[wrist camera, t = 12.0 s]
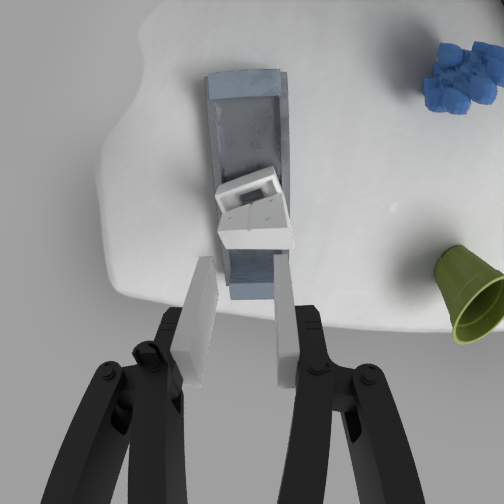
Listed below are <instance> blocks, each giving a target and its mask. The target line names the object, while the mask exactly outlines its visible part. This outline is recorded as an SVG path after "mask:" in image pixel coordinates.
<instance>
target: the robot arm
mask: <svg viewBox="0 0 504 504" xmlns="http://www.w3.org/2000/svg"><path fill="white" fill-rule="evenodd" d="M501 1H502V3H503V5H504V0H501ZM218 295H219V293H218V287H217V280H216V274H215V267H214V261H213V256H206V257H199V260H198V263H197V266H196V269H195V272H194V275H193V278H192V281H191V284H190V287H189V290H188V293H187V296H186V299H185V302H184V305H183V307H170V308H169V309H168V310H167V311H166V312H165V313H164V314H163V317H162V320H161V324H160V325H159V328H158V331H157V334H156V336H155V339H154V341H144V342H142V343H140V344H138V345H137V346H136V347H135V348H134V350H133V352H132V355H133V356H134V358H135V360H136V362H137V364H136V365H132V366H126V367H121V366H120V365H119V364H118V363H117V362H114V361H108V362H105V363H103V364H101V365H100V366H99V367H98V369H97V370H96V372H95V374H94V376H93V378H92V380H91V382H90V384H89V386H88V388H87V390H86V392H85V394H84V396H83V398H82V400H81V402H80V404H79V407H78V409H77V411H76V413H75V415H74V417H73V420H72V422H71V424H70V427H69V429H68V431H67V434H66V436H65V439H64V441H63V443H62V445H61V448H60V450H59V453H58V456H57V458H56V461H55V463H54V466H53V468H52V471H51V474H50V477H49V479H48V482H47V485H46V488H45V491H44V494H43V497H42V500H41V504H110V502H111V499H112V495H113V492H114V489H115V486H116V482H117V479H118V476H119V473H120V469H121V466H122V463H123V460H124V457H125V454H126V451H127V448H128V445H129V442H130V448H129V466H128V468H129V469H128V504H188V503H187V490H186V475H185V454H184V395H183V391H182V389H181V388H182V384H183V381H184V383H185V385H186V386H187V387H201V388H202V385H203V379H204V373H205V367H206V361H207V356H208V350H209V344H210V339H211V333H212V328H213V322H214V316H215V311H216V306H217V301H218ZM274 304H275V325H276V353H277V380H278V381H277V382H278V389H286V388H295V386H296V396H295V402H294V410H293V417H292V424H291V430H290V436H289V442H288V449H287V454H286V460H285V466H284V471H283V476H282V481H281V486H280V491H279V496H278V500H277V504H323V500H324V492H325V485H326V477H327V468H328V458H329V449H330V436H331V421H332V410H333V411H338V412H340V413H341V417H342V421H343V426H344V430H345V434H346V439H347V443H348V447H349V452H350V456H351V461H352V466H353V471H354V475H355V480H356V485H357V490H358V496H359V501H360V504H425V500H424V496H423V492H422V488H421V484H420V481H419V477H418V473H417V470H416V466H415V463H414V459H413V456H412V452H411V449H410V446H409V443H408V440H407V437H406V434H405V431H404V428H403V425H402V422H401V419H400V416H399V413H398V410H397V407H396V404H395V402H394V399H393V396H392V394H391V391H390V388H389V386H388V383H387V380H386V378H385V375H384V373H383V372H382V370H381V369H380V368H379V367H378V366H376V365H373V364H362V365H360V366H358V367H357V368H356V369H351V368H345V367H341V366H338V365H337V364H335V363H334V362H332V361H331V359H330V358H329V356H328V353H327V348H326V343H325V338H324V333H323V329H322V323H321V318H320V313H319V311H318V310H317V309H316V308H315V306H314V305H303V306H294V298H293V290H292V282H291V275H290V268H289V261H288V254H281V255H274Z"/></svg>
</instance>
